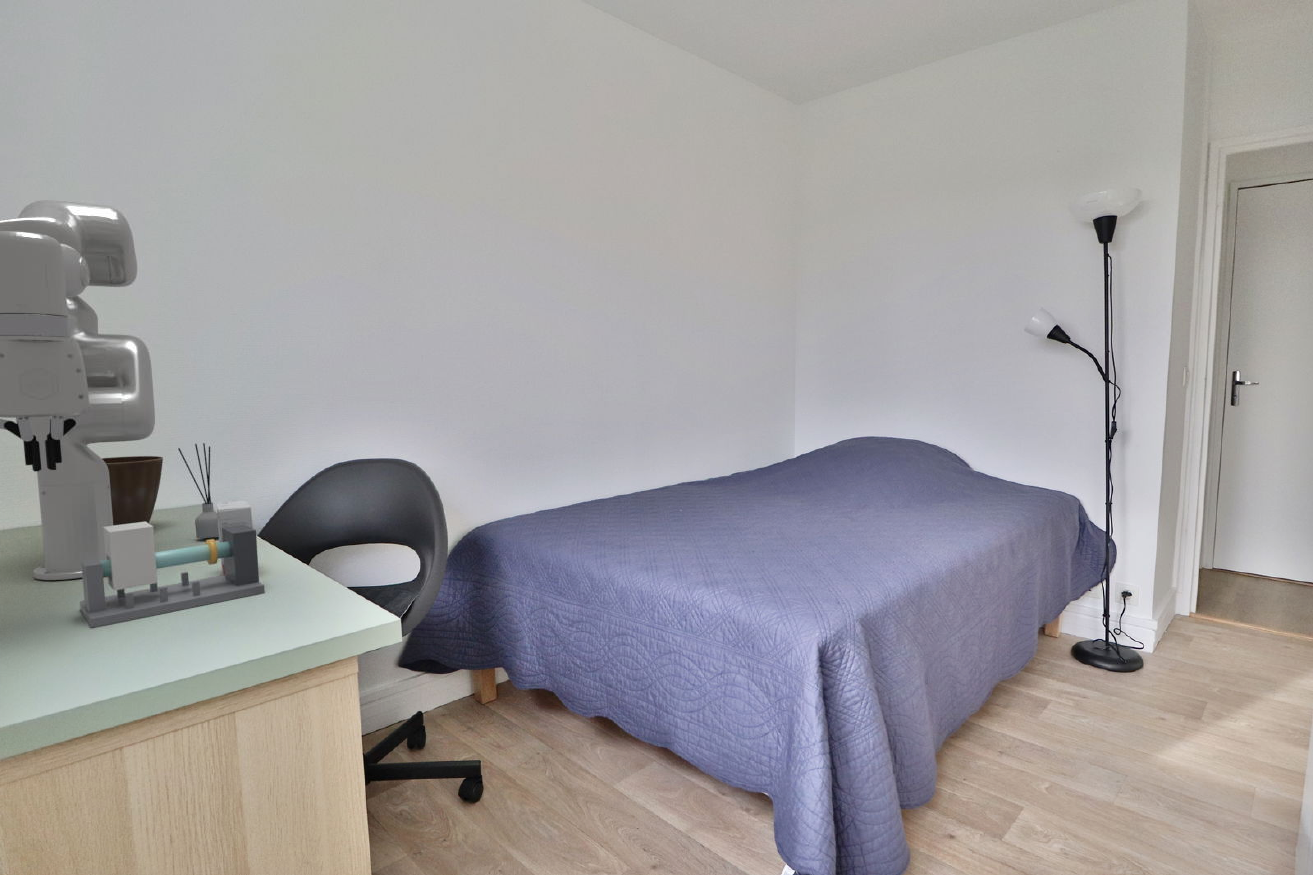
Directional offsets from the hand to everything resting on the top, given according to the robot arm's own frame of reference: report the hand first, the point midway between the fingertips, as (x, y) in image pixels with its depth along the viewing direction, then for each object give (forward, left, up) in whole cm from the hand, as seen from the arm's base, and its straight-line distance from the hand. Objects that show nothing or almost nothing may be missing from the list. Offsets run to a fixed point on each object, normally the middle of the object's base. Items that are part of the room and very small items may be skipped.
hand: (44, 469), depth 95 cm
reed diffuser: (-44, +27, -21) cm, 56 cm away
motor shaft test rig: (0, +14, -21) cm, 25 cm away
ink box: (-10, +24, -21) cm, 34 cm away
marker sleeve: (0, +9, -17) cm, 19 cm away
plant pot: (-65, +17, -21) cm, 70 cm away
